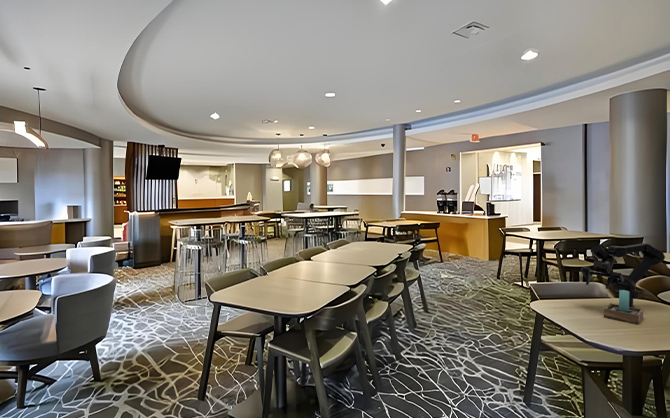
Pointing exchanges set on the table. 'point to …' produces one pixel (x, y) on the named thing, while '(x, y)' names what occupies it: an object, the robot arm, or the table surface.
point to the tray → (623, 314)
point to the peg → (624, 301)
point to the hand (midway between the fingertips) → (596, 286)
